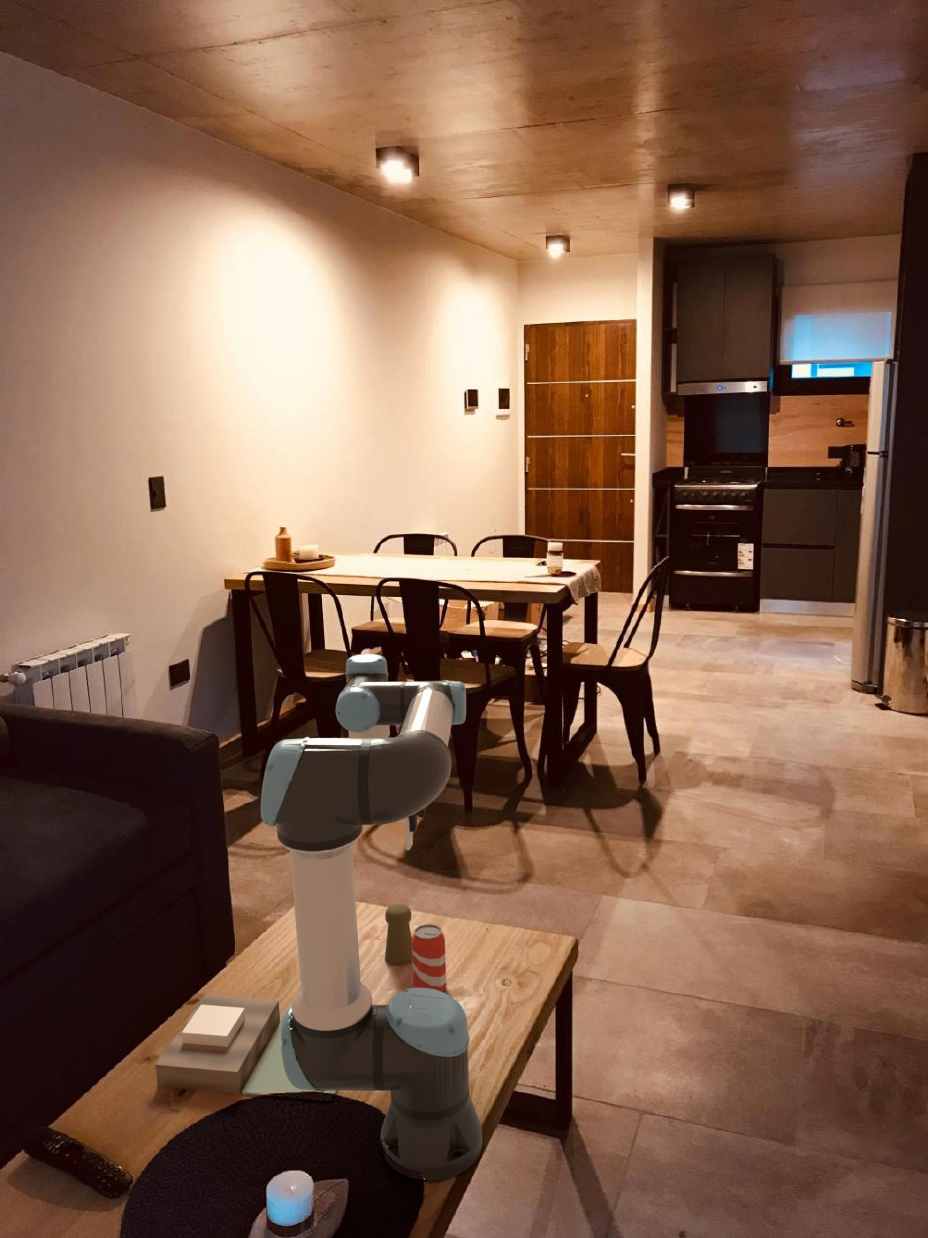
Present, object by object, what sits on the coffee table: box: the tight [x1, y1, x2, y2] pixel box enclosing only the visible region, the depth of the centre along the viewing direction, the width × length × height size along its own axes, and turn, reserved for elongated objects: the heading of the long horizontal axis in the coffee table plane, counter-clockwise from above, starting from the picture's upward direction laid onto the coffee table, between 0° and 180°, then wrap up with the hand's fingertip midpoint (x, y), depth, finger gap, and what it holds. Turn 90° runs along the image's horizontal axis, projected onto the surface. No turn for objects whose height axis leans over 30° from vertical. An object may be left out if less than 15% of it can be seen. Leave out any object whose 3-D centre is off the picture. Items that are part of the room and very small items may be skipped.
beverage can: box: [411, 923, 447, 992], centre depth 191 cm, size 6×6×12 cm
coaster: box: [182, 1005, 245, 1047], centre depth 175 cm, size 8×8×2 cm
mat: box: [241, 1018, 338, 1096], centre depth 173 cm, size 20×15×1 cm
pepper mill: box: [384, 903, 413, 967], centre depth 202 cm, size 6×6×11 cm
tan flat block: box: [155, 994, 281, 1094], centre depth 175 cm, size 20×14×4 cm
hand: (374, 845), depth 193 cm, fingers open, 13 cm apart
